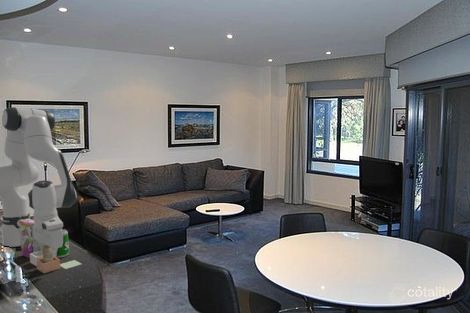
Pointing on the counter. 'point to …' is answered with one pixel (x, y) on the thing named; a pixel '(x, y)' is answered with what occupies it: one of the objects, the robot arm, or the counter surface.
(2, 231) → the robot arm
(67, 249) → the soda can
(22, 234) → the candy bar box
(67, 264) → the coaster
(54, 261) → the orange square socket block
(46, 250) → the beech peg
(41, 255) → the light grey square bin
